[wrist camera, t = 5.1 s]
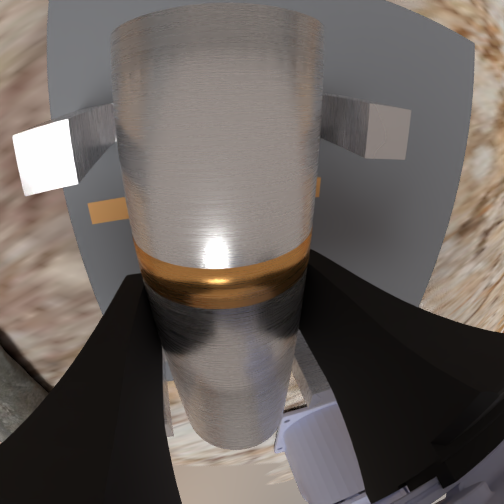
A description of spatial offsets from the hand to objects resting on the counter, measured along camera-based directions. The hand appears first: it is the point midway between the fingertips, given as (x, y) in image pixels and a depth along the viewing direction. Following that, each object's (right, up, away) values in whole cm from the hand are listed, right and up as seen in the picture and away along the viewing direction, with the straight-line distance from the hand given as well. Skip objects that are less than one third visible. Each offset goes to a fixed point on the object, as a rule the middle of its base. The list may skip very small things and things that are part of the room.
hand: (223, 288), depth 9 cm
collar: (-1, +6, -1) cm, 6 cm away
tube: (0, +1, +1) cm, 2 cm away
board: (+3, +3, +3) cm, 5 cm away
